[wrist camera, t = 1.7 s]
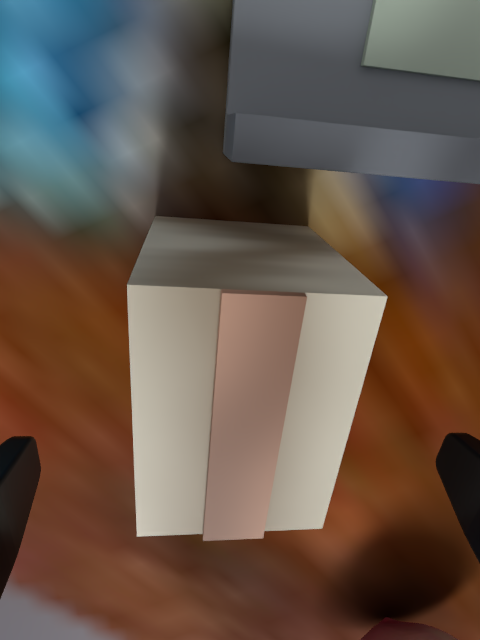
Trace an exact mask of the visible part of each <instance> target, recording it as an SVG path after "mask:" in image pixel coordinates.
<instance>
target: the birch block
mask: <svg viewBox="0 0 480 640" xmlns="http://www.w3.org/2000/svg"><path fill="white" fill-rule="evenodd" d="M127 297H128V322H129V347H130V373H131V398H132V423H133V448H134V473H135V498H136V523H137V537H138V536H161V535H184V534H203V541H211V540H233V539H255V538H263V536H264V531H277V530H300V529H322V527H323V524H324V520H325V516H326V513H327V509H328V506H329V502H330V499H331V495H332V492H333V488H334V485H335V481H336V477H337V474H338V470H339V467H340V463H341V460H342V456H343V453H344V449H345V446H346V442H347V439H348V435H349V431H350V428H351V424H352V421H353V417H354V414H355V410H356V407H357V403H358V400H359V396H360V393H361V389H362V385H363V382H364V378H365V375H366V371H367V368H368V364H369V361H370V357H371V354H372V350H373V346H374V343H375V339H376V336H377V332H378V329H379V325H380V322H381V318H382V315H383V311H384V308H385V304H386V300H387V297H388V296H387V295H386V294H384V293H383V292H382V291H381V290H380V289H379V288H378V287H376V286H375V285H374V284H373V283H372V282H371V281H370V280H368V279H367V278H366V277H365V276H364V275H363V274H362V273H361V272H359V271H358V270H357V269H356V268H355V267H354V266H353V265H351V264H350V263H349V262H348V261H347V260H346V259H345V258H343V257H342V256H341V255H340V254H339V253H338V252H337V251H336V250H334V249H333V248H332V247H331V246H330V245H329V244H328V243H326V242H325V241H324V240H323V239H322V238H321V237H320V236H318V235H317V234H316V233H315V232H314V231H313V230H312V229H311V228H309V227H308V226H296V225H281V224H266V223H252V222H237V221H223V220H208V219H194V218H179V217H165V216H155V218H154V220H153V222H152V225H151V227H150V230H149V232H148V235H147V237H146V240H145V242H144V244H143V247H142V249H141V252H140V254H139V257H138V259H137V262H136V264H135V266H134V269H133V271H132V274H131V276H130V279H129V281H128V284H127Z"/></svg>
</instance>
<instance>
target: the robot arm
mask: <svg viewBox="0 0 480 640" xmlns="http://www.w3.org/2000/svg"><path fill="white" fill-rule="evenodd" d="M436 467H437V471H438V473H439V475H440V478H441V480H442V483H443V485H444V487H445V490H446V492H447V494H448V497H449V499H450V501H451V504H452V506H453V509H454V511H455V513H456V516H457V518H458V520H459V523H460V525H461V527H462V529H463V532H464V534H465V536H466V538H467V540H468V542H469V544H470V546H471V548H472V550H473V551H474V553H475V555H476V557H477V559H478V561H479V563H480V440H478V439H476V438H475V437H473V436H471V435H469V434H467V433H449V434H448V435H446V437H445V439H444V441H443V443H442V446H441V448H440V450H439V453H438V455H437V458H436ZM40 472H41V466H40V460H39V455H38V449H37V444H36V440H35V439H34V438H33V437H31V436H14V437H11V438H9V439H7V440H6V441H5V442H3V443H2V444H1V445H0V598H1V596H2V593H3V591H4V588H5V586H6V583H7V581H8V578H9V576H10V573H11V571H12V568H13V566H14V563H15V560H16V558H17V555H18V551H19V548H20V545H21V542H22V538H23V535H24V531H25V528H26V524H27V520H28V517H29V513H30V510H31V506H32V503H33V499H34V496H35V492H36V489H37V485H38V482H39V478H40Z"/></svg>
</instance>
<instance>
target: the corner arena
mask: <svg viewBox="0 0 480 640" xmlns="http://www.w3.org/2000/svg"><path fill="white" fill-rule="evenodd" d="M223 154H224V155H225V156H226V157H227V158H229V159H230V160H231V161H232V162H239V163H251V164H262V165H273V166H284V167H295V168H306V169H318V170H329V171H340V172H351V173H362V174H373V175H385V176H396V177H407V178H418V179H429V180H440V181H451V182H463V183H474V184H480V0H233V7H232V22H231V37H230V53H229V68H228V83H227V98H226V113H225V128H224V144H223Z"/></svg>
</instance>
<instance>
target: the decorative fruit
mask: <svg viewBox="0 0 480 640" xmlns="http://www.w3.org/2000/svg"><path fill="white" fill-rule="evenodd" d="M361 640H458V639H456V638H455V637H453V636H451V635H450V634H448V633H446V632H444V631H442V630H439V629H437V628H434V627H431V626H428V625H424V624H419V623H409V622H399V621H396V620H393V619H391V618H389V617H385V618H384V619H383V620H382V621H381V622H380V623H379V624H377V625H376V626H374V627H373V628H372V629H371V630H370V631H369V632H368V633H367V634H366V635H365V636H364V637H363V638H362V639H361Z"/></svg>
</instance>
